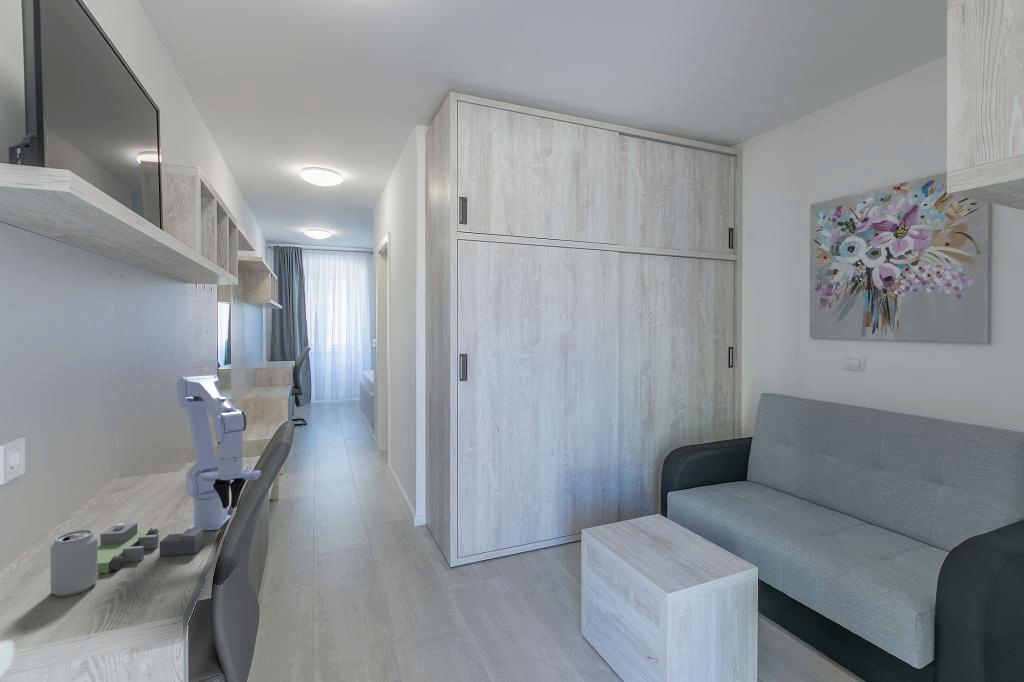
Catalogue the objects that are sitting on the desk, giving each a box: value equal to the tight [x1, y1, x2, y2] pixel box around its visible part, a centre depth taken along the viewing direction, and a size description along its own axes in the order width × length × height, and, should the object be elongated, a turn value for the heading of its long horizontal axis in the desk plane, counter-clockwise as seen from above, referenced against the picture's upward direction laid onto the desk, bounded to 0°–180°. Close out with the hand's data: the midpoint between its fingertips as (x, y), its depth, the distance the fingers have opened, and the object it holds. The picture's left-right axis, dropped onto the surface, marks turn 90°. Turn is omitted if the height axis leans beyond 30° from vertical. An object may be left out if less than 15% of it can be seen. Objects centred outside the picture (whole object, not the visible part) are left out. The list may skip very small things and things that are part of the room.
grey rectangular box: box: [159, 528, 204, 557], centre depth 119 cm, size 4×8×5 cm, turn 101°
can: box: [50, 528, 99, 597], centre depth 102 cm, size 8×8×12 cm
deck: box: [98, 522, 159, 574], centre depth 116 cm, size 18×14×6 cm
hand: (230, 506), depth 125 cm, fingers closed
